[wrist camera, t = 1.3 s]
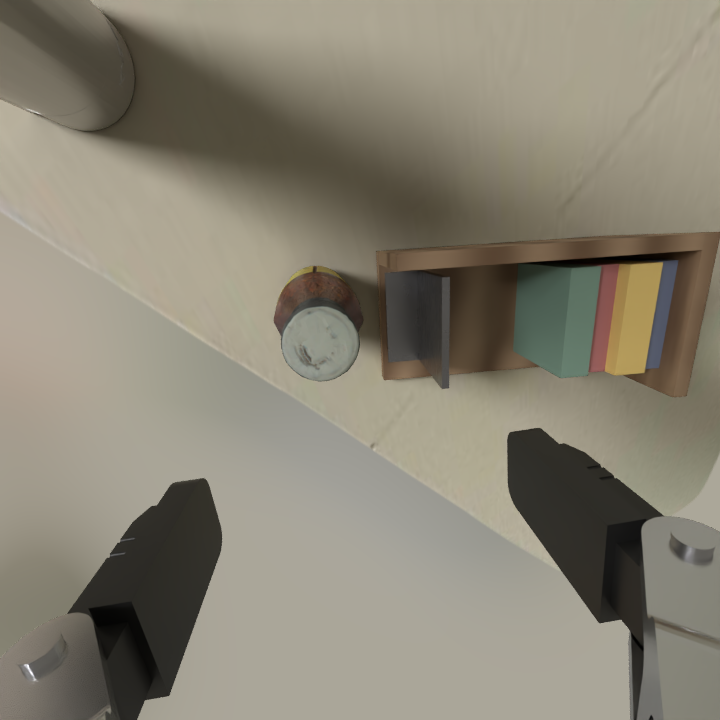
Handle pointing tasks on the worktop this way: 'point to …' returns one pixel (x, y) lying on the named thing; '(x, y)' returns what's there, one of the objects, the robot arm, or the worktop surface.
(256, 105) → the worktop surface
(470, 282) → the shelf
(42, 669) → the robot arm
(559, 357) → the book row
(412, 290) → the bookend
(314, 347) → the sauce bottle
